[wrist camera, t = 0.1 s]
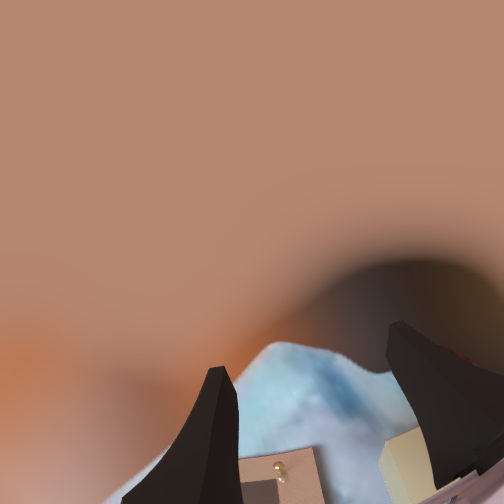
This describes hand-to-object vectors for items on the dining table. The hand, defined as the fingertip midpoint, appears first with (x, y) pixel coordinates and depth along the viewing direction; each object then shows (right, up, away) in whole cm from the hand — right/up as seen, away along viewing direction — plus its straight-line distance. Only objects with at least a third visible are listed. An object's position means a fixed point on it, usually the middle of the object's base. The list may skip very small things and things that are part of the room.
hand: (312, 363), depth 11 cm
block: (+13, -19, +5) cm, 24 cm away
